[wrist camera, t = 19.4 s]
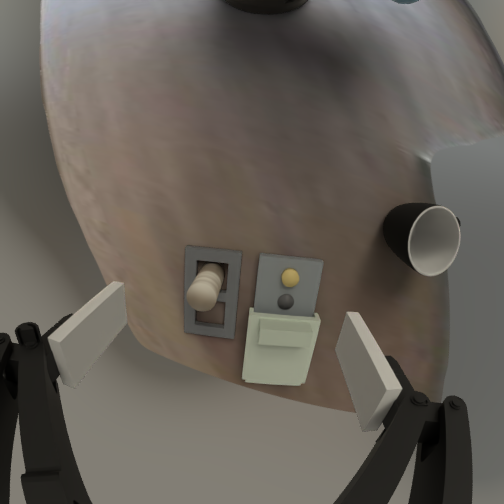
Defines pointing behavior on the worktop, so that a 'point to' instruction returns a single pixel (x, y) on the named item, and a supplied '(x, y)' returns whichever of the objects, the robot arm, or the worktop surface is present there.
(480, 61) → the worktop surface
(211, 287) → the pin
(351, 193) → the worktop surface
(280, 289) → the board
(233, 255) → the socket board
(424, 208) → the mug
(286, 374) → the cover
